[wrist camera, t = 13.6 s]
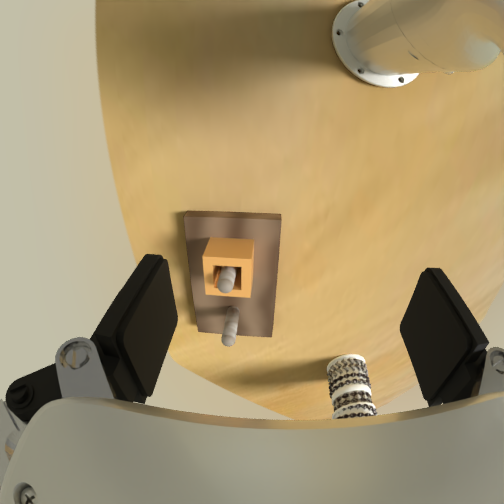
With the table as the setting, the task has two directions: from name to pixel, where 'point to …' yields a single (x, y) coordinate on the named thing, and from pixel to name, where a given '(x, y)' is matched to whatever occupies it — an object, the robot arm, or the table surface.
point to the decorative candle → (350, 387)
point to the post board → (234, 273)
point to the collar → (229, 255)
